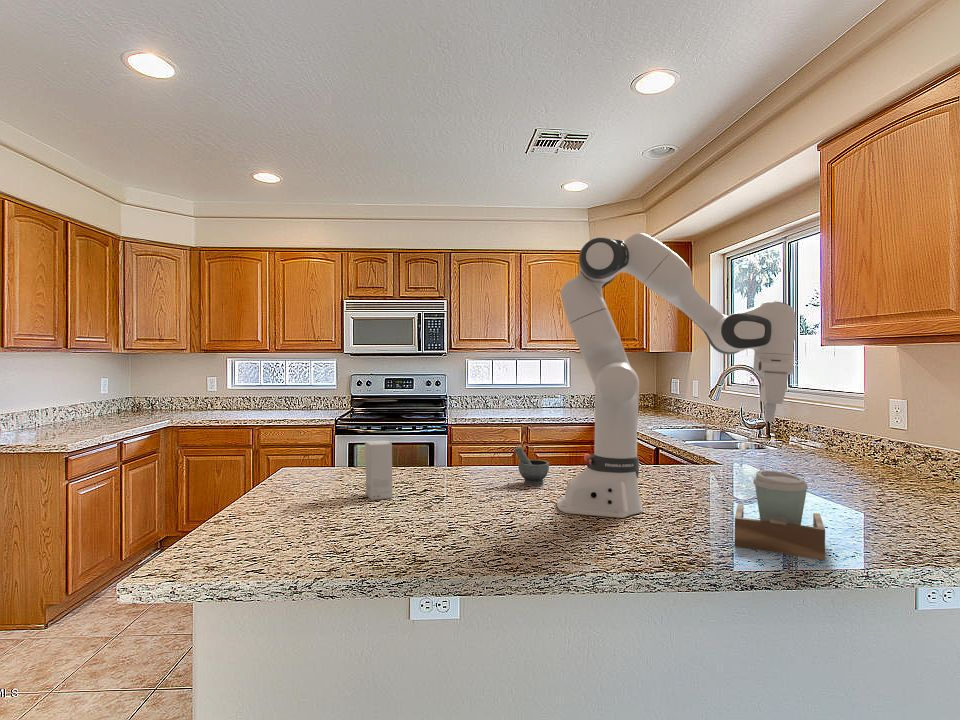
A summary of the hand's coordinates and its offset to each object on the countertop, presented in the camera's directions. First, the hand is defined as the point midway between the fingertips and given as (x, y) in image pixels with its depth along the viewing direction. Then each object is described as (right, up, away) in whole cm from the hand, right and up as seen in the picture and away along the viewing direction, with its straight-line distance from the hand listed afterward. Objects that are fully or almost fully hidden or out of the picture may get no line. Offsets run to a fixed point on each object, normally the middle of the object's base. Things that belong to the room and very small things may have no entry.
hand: (769, 421), depth 137 cm
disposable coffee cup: (-7, -25, -18) cm, 31 cm away
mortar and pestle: (-56, -24, +37) cm, 71 cm away
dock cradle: (-8, -25, -18) cm, 31 cm away
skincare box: (-102, -24, +20) cm, 106 cm away
